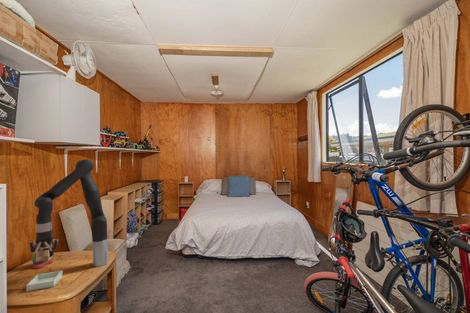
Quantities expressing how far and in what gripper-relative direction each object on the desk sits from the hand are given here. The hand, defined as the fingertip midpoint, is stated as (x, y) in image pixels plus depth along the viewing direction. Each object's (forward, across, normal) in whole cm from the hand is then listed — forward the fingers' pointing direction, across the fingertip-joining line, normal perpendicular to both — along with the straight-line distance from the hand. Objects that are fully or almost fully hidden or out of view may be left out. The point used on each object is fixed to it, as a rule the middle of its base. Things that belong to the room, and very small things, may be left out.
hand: (44, 257), depth 136 cm
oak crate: (+1, 0, 0) cm, 1 cm away
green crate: (+16, 0, 0) cm, 16 cm away
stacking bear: (+16, +14, -30) cm, 36 cm away
